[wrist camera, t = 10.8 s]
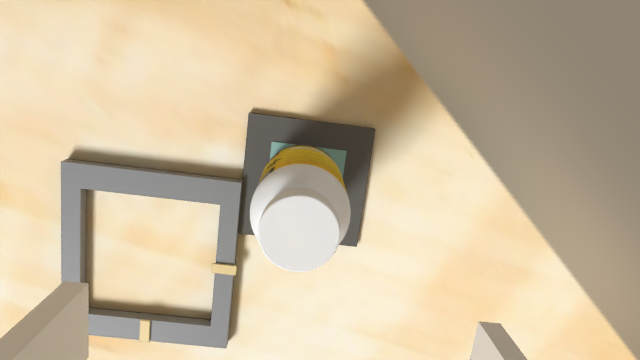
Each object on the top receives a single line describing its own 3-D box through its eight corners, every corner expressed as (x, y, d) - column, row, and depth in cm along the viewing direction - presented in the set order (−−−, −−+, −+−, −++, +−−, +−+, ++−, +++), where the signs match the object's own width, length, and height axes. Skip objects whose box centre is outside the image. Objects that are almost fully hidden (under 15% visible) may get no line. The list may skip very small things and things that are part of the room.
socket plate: (67, 159, 36) (59, 162, 35) (246, 180, 37) (244, 183, 36) (67, 325, 40) (60, 333, 39) (230, 341, 41) (228, 350, 40)
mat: (249, 112, 36) (248, 113, 35) (374, 128, 36) (375, 129, 36) (238, 231, 38) (237, 233, 38) (356, 244, 39) (356, 247, 38)
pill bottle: (288, 127, 36) (280, 155, 25) (357, 170, 37) (379, 215, 26) (246, 195, 37) (220, 251, 26) (314, 234, 38) (317, 305, 27)
